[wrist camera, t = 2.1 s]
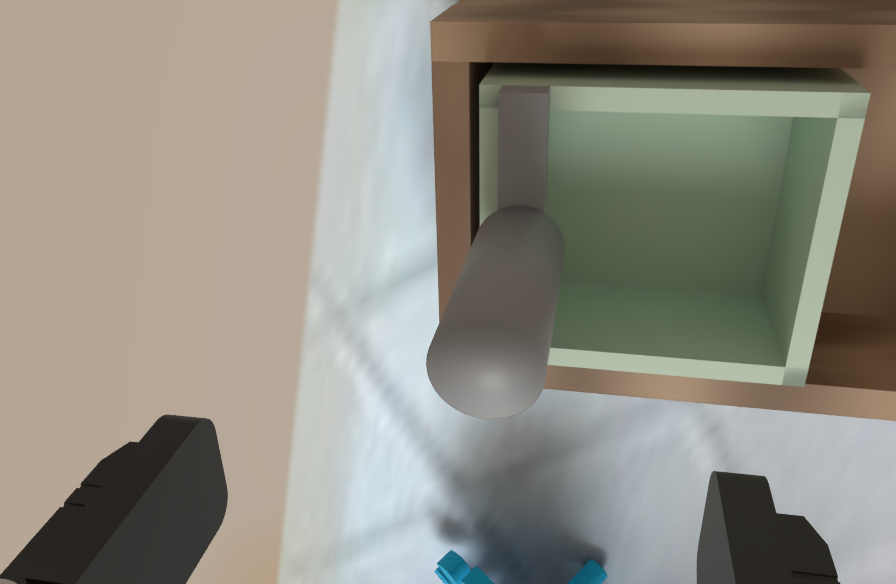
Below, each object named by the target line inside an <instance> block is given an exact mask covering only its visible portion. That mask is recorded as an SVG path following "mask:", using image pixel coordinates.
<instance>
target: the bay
mask: <svg viewBox="0 0 896 584" xmlns="http://www.w3.org/2000/svg"><path fill="white" fill-rule="evenodd" d="M430 27H431V59H432V92H433V125H434V158H435V190H436V223H437V256H438V289H439V321H440V320H441V318H442V316H443V313H444V311H445V308H446V306H447V304H448V301H449V299H450V296H451V294H452V292H453V289H454V287H455V284H456V282H457V280H458V277H459V275H460V272H461V270H462V268H463V265H464V263H465V260H466V258H467V256H468V253H469V251H470V248H471V246H472V244H473V241H474V239H475V236H476V234H477V232H478V229H479V227H480V155H479V84H480V83H481V81H482V80H483V79H484V77H485V76H486V74H487V73H488V72H489V70H490V69H491V67H492V66H493V65H494V63H495V62H504V63H563V64H623V65H683V66H742V67H802V68H841V69H843V70H844V71H845V72H846V73H847V74H848V75H850V76H851V77H852V78H853V79H854V80H856V81H857V82H858V83H859V84H860V85H862V86H863V87H864V88H865V89H866V90H868V91H869V92H870V93H871V94H870V99H869V103H868V107H867V112H866V116H865V121H864V125H863V130H862V134H861V138H860V143H859V147H858V152H857V156H856V161H855V165H854V169H853V174H852V178H851V183H850V187H849V192H848V196H847V200H846V205H845V209H844V214H843V218H842V223H841V227H840V231H839V236H838V240H837V245H836V249H835V254H834V258H833V262H832V267H831V271H830V276H829V280H828V285H827V289H826V293H825V298H824V302H823V307H822V311H821V316H820V320H819V324H818V329H817V333H816V338H815V342H814V347H813V351H812V355H811V360H810V364H809V369H808V373H807V378H806V382H805V386H804V387H798V386H786V385H775V384H763V383H752V382H740V381H729V380H717V379H705V378H694V377H682V376H671V375H659V374H648V373H636V372H625V371H613V370H602V369H590V368H579V367H567V366H556V365H547V371H546V377H545V383H544V386H543V388H545V389H555V390H566V391H577V392H588V393H599V394H609V395H620V396H631V397H642V398H653V399H664V400H674V401H685V402H696V403H707V404H718V405H729V406H739V407H750V408H761V409H772V410H783V411H793V412H804V413H815V414H826V415H837V416H848V417H858V418H869V419H880V420H891V421H896V0H460V1H458V2H457V3H456V4H454V5H453V6H451V7H450V8H449V9H447V10H446V11H444V12H443V13H442V14H440V15H439V16H437V17H436V18H435V19H433V20H432V21H430Z"/></svg>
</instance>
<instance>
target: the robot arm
mask: <svg viewBox="0 0 896 584" xmlns="http://www.w3.org/2000/svg"><path fill="white" fill-rule="evenodd" d="M227 499H228V491H227V485H226V480H225V475H224V470H223V465H222V460H221V455H220V450H219V445H218V440H217V435H216V430H215V427H214V424H213V423H212V421H211V420H210V419H206V418H196V417H186V416H176V415H164V416H162V417H160V418H159V419H158V420H157V421H156V422H155V423H154V425H153V426H152V427H151V428H150V429H149V431H148V432H147V433H146V434H145V435H144V437H143V438H142V439H141V440H140V442H138V443H137V442H129V443H127V444H126V445H124V446H123V447H121V448H120V449H118V450H116V451H115V452H114V453H112V454H111V455H109V456H107V457H106V458H104V459H103V460H101V461H100V462H99V463H98V465H97V466H96V467H95V468H94V469H93V470H92V471H91V472H90V474H89V475H88V476H87V477H86V478H85V479H84V481H83V482H82V483H81V487H80V488H76V490H75V491H74V492H73V493H72V494H71V495H70V496H69V498H68V499H67V500H66V501H65V502H64V507H60V508H59V509H58V510H57V511H56V512H55V514H54V515H53V516H52V517H51V518H50V519H49V520H48V522H47V523H46V524H45V525H44V526H43V527H42V528H41V529H40V530H39V532H38V533H37V534H36V535H35V536H34V537H33V538H32V540H31V541H30V542H29V543H28V544H27V545H26V546H25V548H24V549H23V550H22V551H21V552H20V553H19V555H17V557H16V558H15V559H14V560H13V561H12V562H11V563H10V565H9V566H8V567H7V568H6V569H5V570H4V571H3V573H2V574H1V575H0V584H186V582H187V581H188V579H189V577H190V576H191V574H192V572H193V571H194V569H195V568H196V566H197V564H198V562H199V561H200V559H201V558H202V556H203V554H204V553H205V551H206V549H207V548H208V546H209V544H210V543H211V541H212V539H213V538H214V536H215V535H216V533H217V531H218V530H219V528H220V526H221V524H222V521H223V519H224V516H225V512H226V507H227ZM697 584H840V582H838V575H837V572H836V569H835V566H834V563H833V560H832V557H831V554H830V550H829V547H828V545H827V543H826V542H825V541H824V540H823V539H822V538H821V536H820V535H819V534H818V533H817V532H816V530H815V529H814V528H813V527H812V526H811V524H810V523H809V522H808V521H807V520H806V519H805V517H804V516H796V515H787V514H778V513H776V510H775V506H774V503H773V499H772V495H771V491H770V487H769V483H768V481H767V479H766V477H764V476H757V475H747V474H737V473H727V472H717V471H713V472H712V474H711V477H710V481H709V486H708V492H707V498H706V504H705V510H704V515H703V521H702V527H701V533H700V539H699V545H698V553H697Z"/></svg>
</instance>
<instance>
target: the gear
mask: <svg viewBox="0 0 896 584" xmlns="http://www.w3.org/2000/svg"><path fill="white" fill-rule="evenodd" d="M437 565H438V566H439V567H438V568H437V569H436V570H435V573H436V574H437V575H438V577H439V578H440V579H441V580H442V581H443V583H444V584H494V583H493V582H492V581H491V580H490V579H489V578H488V577H487V576H486V575H485V574H484V573H483V572H482V571H481V570H480V569H479V568H478V567H477V566H475V567H474V568H473V569H472V570H471V569H470V567H469V566H468V565H467V563H466V562H465V561H464V560H463V559H462V558H461V557H460V556H459V555H458V554H457V553H455V552H454V551H452V550H451V551H449V552H448V553H447V554H446V555H445V556H444V557H443V558H442V559H441V560H440V561H439V562H438V563H437ZM606 578H607V574H606V572H605V571H604V569H603V568H602V567H601V566H600V565H599V564H598V563H597V562H595V561H594V560H592V559H590V560H589V561H588V562H587V563H586V564H585V565H584V566H583V567H582V569H581V570H580V571H579V572H578V573H577V574H576V575H575V576H574V577H573V578H572V579H571V580H570V581H569V582H568V583H567V584H601V583H602V582H603V581H604V580H605V579H606Z"/></svg>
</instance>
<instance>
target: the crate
mask: <svg viewBox="0 0 896 584" xmlns="http://www.w3.org/2000/svg"><path fill="white" fill-rule="evenodd" d="M870 94H871V93H870V92H869V91H868V90H866V89H865V88H864V87H863V86H862V85H860V84H859V83H858V82H857V81H856V80H854V79H853V78H852V77H851V76H850V75H848V74H847V73H846V72H845V71H844V70H843V69H841V68H802V67H742V66H683V65H623V64H563V63H504V62H495V63H494V65H493V66H492V67H491V69H490V70H489V72H488V73H487V74H486V76H485V77H484V79H483V80H482V81H481V83H480V84H479V155H480V227H479V229H478V232H477V234H476V236H475V239H474V241H473V244H472V246H471V248H470V251H469V253H468V256H467V258H466V260H465V263H464V265H463V268H462V270H461V272H460V275H459V277H458V280H457V282H456V284H455V287H454V289H453V292H452V294H451V296H450V299H449V301H448V304H447V306H446V308H445V311H444V313H443V316H442V318H441V320H440V323H439V325H438V328H437V330H436V332H435V335H434V337H433V340H432V342H431V345H430V347H429V350H428V354H427V362H426V366H427V372H428V376H429V379H430V382H431V384H432V386H433V387H434V389H435V391H436V392H437V393H438V395H439V396H440V397H441V398H442V399H443V400H444V401H445V402H446V403H448V404H449V405H450V406H452V407H453V408H455V409H456V410H458V411H460V412H462V413H464V414H467V415H470V416H473V417H477V418H483V419H502V418H507V417H511V416H514V415H516V414H519V413H521V412H522V411H524V410H526V409H527V408H528V407H530V406H531V405H532V404H533V403H534V402H535V401H536V400H537V398H538V397H539V395H540V394H541V391H542V389H543V386H544V383H545V377H546V371H547V365H556V366H567V367H579V368H590V369H602V370H613V371H625V372H636V373H648V374H659V375H671V376H682V377H694V378H705V379H717V380H729V381H740V382H752V383H763V384H775V385H786V386H798V387H804V386H805V382H806V378H807V373H808V369H809V364H810V360H811V355H812V351H813V347H814V342H815V338H816V333H817V329H818V324H819V320H820V316H821V311H822V307H823V302H824V298H825V293H826V289H827V285H828V280H829V276H830V271H831V267H832V262H833V258H834V254H835V249H836V245H837V240H838V236H839V231H840V227H841V223H842V218H843V214H844V209H845V205H846V200H847V196H848V192H849V187H850V183H851V178H852V174H853V169H854V165H855V161H856V156H857V152H858V147H859V143H860V138H861V134H862V130H863V125H864V121H865V116H866V112H867V107H868V103H869V99H870Z"/></svg>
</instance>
